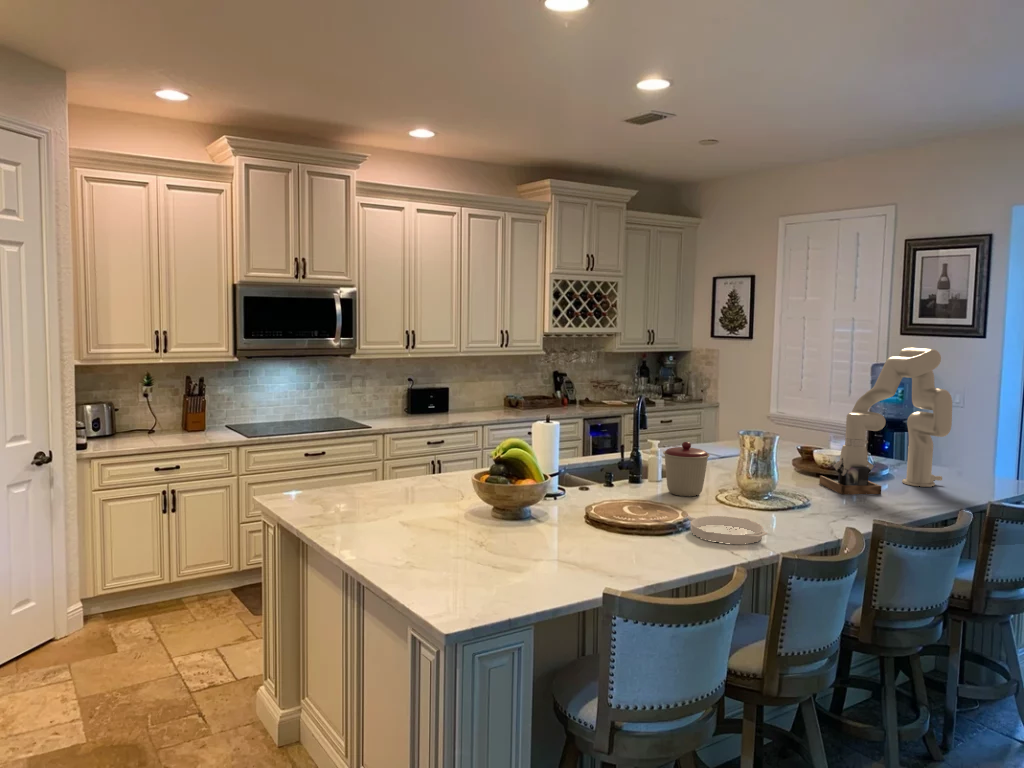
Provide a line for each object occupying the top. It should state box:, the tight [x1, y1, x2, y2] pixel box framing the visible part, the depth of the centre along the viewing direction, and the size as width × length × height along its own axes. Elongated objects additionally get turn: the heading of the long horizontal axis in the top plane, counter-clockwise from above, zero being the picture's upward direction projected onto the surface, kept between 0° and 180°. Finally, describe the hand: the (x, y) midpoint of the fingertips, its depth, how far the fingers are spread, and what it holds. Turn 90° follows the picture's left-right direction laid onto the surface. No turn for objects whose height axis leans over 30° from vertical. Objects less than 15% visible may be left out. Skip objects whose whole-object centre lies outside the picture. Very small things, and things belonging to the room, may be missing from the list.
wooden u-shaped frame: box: [819, 475, 882, 495], centre depth 324 cm, size 16×20×4 cm
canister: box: [662, 441, 710, 497], centre depth 309 cm, size 18×18×21 cm
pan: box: [686, 515, 768, 545], centre depth 257 cm, size 24×41×4 cm, turn 42°
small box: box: [837, 465, 870, 486], centre depth 322 cm, size 11×6×10 cm, turn 24°
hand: (852, 484), depth 322 cm, fingers closed on small box, 7 cm apart
